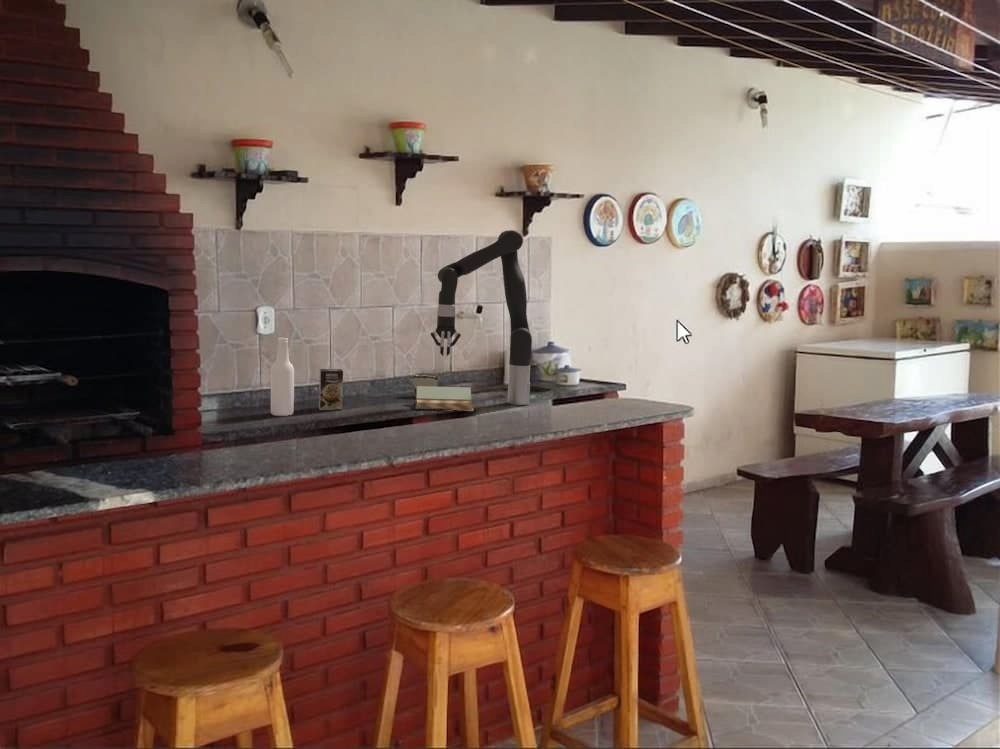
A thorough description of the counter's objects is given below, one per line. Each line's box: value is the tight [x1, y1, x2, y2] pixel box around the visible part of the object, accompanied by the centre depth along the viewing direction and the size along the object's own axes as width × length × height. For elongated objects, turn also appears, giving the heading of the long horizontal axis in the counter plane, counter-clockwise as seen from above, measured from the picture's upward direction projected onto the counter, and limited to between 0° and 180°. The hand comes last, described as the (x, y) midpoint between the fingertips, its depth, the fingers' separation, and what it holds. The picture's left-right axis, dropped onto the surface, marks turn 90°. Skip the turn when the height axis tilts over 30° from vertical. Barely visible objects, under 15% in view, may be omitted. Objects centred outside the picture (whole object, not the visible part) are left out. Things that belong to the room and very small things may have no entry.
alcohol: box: [270, 336, 295, 417], centre depth 366 cm, size 9×9×30 cm
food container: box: [411, 372, 440, 398], centre depth 421 cm, size 12×6×10 cm, turn 84°
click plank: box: [416, 386, 472, 402], centre depth 401 cm, size 23×8×2 cm
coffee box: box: [318, 368, 344, 411], centre depth 382 cm, size 9×6×16 cm
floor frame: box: [416, 399, 475, 412], centre depth 398 cm, size 24×16×3 cm, turn 96°
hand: (444, 355), depth 401 cm, fingers closed
